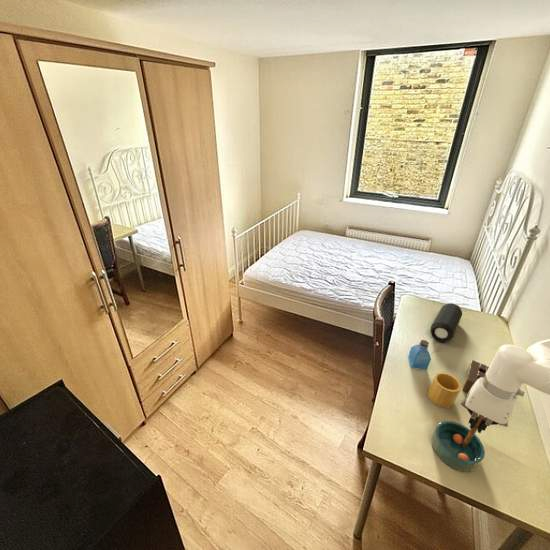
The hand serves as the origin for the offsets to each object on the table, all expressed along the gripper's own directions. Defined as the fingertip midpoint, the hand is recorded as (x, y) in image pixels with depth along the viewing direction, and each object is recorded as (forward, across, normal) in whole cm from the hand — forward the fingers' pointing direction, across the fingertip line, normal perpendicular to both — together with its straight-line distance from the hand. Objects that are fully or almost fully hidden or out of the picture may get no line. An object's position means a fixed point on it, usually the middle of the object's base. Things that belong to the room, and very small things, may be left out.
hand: (475, 427), depth 88 cm
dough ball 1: (+10, +2, -2) cm, 10 cm away
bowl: (+12, +2, +2) cm, 12 cm away
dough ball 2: (+10, 0, +5) cm, 11 cm away
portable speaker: (+12, +18, -64) cm, 67 cm away
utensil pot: (+12, +10, -18) cm, 23 cm away
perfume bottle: (+12, +22, -30) cm, 39 cm away
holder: (+12, 0, -33) cm, 36 cm away
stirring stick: (+11, 0, -1) cm, 11 cm away
